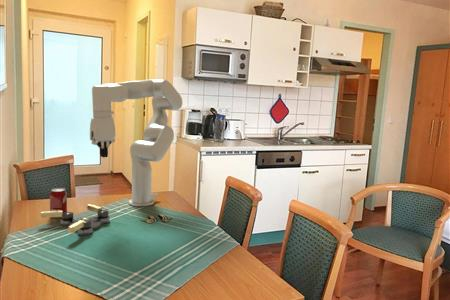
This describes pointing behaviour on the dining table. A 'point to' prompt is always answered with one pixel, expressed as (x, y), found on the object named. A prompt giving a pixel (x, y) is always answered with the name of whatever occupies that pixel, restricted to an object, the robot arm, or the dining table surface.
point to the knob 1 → (80, 226)
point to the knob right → (57, 215)
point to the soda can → (58, 200)
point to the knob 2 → (98, 211)
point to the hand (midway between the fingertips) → (104, 156)
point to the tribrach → (95, 223)
